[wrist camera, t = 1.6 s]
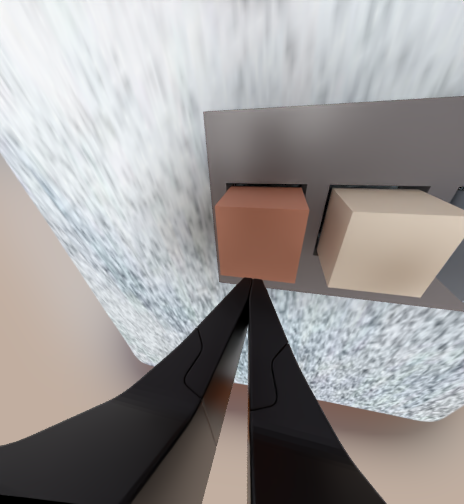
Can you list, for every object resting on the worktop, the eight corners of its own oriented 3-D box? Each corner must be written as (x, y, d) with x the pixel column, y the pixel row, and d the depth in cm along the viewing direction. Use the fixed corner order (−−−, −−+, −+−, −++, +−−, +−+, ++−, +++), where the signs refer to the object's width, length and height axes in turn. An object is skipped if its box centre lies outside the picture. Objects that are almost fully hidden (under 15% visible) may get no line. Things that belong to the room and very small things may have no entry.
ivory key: (418, 189, 12) (479, 216, 8) (385, 255, 15) (420, 297, 11) (332, 187, 13) (352, 211, 9) (316, 249, 15) (327, 287, 12)
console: (623, 91, 10) (737, 79, 7) (456, 287, 17) (485, 314, 15) (216, 114, 14) (203, 111, 12) (226, 264, 22) (219, 282, 19)
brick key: (301, 187, 13) (309, 209, 10) (291, 248, 16) (294, 283, 12) (231, 185, 14) (214, 206, 10) (233, 243, 17) (220, 275, 13)
